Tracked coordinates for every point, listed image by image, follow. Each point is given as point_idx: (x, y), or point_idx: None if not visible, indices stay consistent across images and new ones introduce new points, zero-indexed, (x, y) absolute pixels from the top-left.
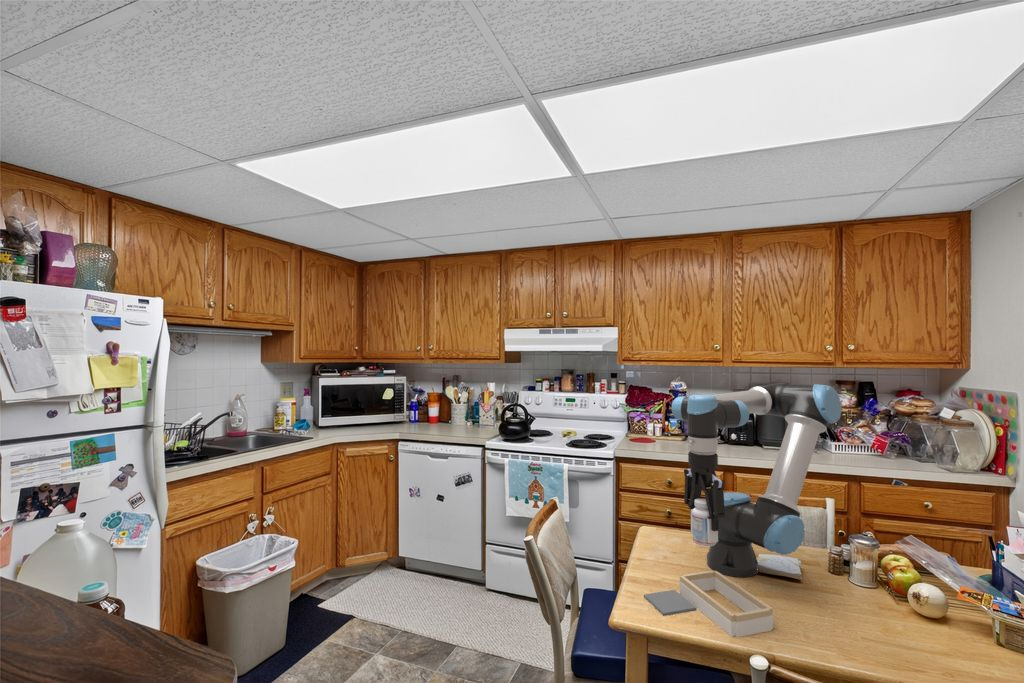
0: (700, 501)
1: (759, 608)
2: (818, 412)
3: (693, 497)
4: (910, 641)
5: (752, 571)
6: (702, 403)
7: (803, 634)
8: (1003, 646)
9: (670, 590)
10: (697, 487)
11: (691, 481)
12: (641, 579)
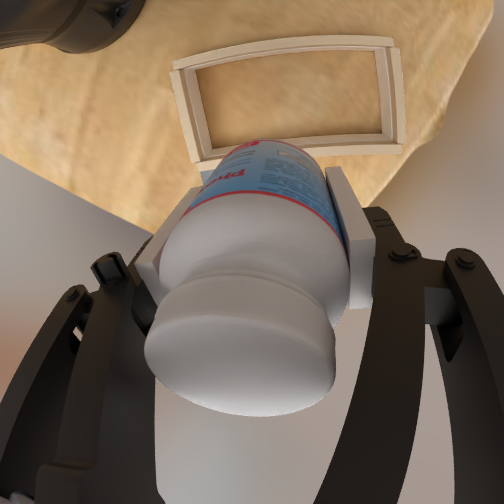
0: (247, 399)
1: (359, 47)
2: None
3: (152, 400)
4: None
5: None
6: None
7: (401, 6)
8: None
9: (202, 179)
10: (144, 494)
11: (33, 463)
12: (149, 214)
